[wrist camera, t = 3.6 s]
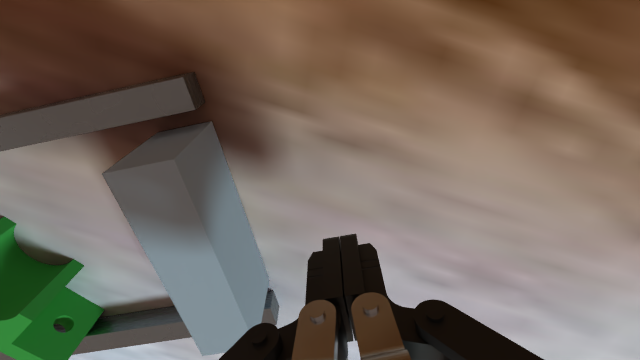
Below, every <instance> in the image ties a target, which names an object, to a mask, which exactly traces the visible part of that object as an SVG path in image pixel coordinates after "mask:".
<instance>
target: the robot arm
mask: <svg viewBox="0 0 640 360" xmlns="http://www.w3.org/2000/svg"><path fill="white" fill-rule="evenodd" d="M340 242H341V243H340ZM307 270H308V271H307V286H306V303H305V306H304V307H303V308H302V310H301V311H300V314H299V318H298V319H297V320H295V321H294V322H292V323H290V324H288V325H286V326H284V327H282V328H279V329H277V327H276V326H275V325H273V324H271V323H260V324H257V325H255V326H253V327H252V328H250V329H249V330H248V331H247V332H246V333H245V334H244V335H243V336H242V337H241V338H240V339H239V340H238V341H237V342H236V343H235V344H234V345H233V346H232V347H231V348H230V349H229V350H228V351H227V352H226V353H225V354H224V355H223V356H222V357H221V358H220V359H219V360H348V346H347V342H350V341H353V334H354V338H355V341H356V340H357V342H358V347H359V352H360V357H361V358H360V359H361V360H544V359H542V358H540V357H538V356H537V355H535V354H533V353H532V352H530V351H528V350H526V349H525V348H523V347H521V346H520V345H518V344H516V343H514V342H513V341H511V340H509V339H508V338H506V337H504V336H502V335H501V334H499V333H497V332H496V331H494V330H492V329H490V328H489V327H487V326H485V325H484V324H482V323H480V322H478V321H477V320H475V319H473V318H472V317H470V316H468V315H466V314H465V313H463V312H461V311H460V310H458V309H456V308H454V307H453V306H451V305H449V304H448V303H446V302H443V301H440V300H426V301H423V302H422V303H420V304H419V305H418V306H417V307H416V308H415V309H413V308H406V307H402V306H399V305H397V304H395V303H393V302H392V301H391V300H390V299H389V298H388V296H387V293H386V290H385V285H384V281H383V277H382V272H381V268H380V264H379V259H378V255H377V251H376V249H375V248H374V247H373V246H372V245H371V244H370V243H368V244H361V245H358V241H357V236H356V234H351V235H345V236H340V238H339V237H333V238H327V239H323V251H318V252H313V253H312V255H311V257H310V258H309V260H308V269H307ZM352 329H353V332H352Z"/></svg>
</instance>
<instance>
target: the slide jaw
mask: <svg viewBox="0 0 640 360" xmlns="http://www.w3.org/2000/svg"><path fill="white" fill-rule="evenodd" d="M102 175H103V177H104V179H105V180H106V182H107V184H108V186H109V188H110V189H111V191H112V193H113V195H114V197H115V199H116V200H117V202H118V204H119V206H120V208H121V209H122V211H123V213H124V215H125V217H126V218H127V220H128V222H129V224H130V226H131V227H132V229H133V231H134V233H135V235H136V237H137V238H138V240H139V242H140V244H141V246H142V247H143V249H144V251H145V253H146V255H147V256H148V258H149V260H150V262H151V264H152V265H153V267H154V269H155V271H156V273H157V275H158V276H159V278H160V280H161V282H162V284H163V285H164V287H165V289H166V291H167V293H168V294H169V296H170V298H171V300H172V302H173V303H174V305H175V307H176V309H177V311H178V312H179V314H180V316H181V318H182V320H183V322H184V323H185V325H186V327H187V329H188V331H189V332H190V334H191V336H192V338H193V340H194V341H195V343H196V345H197V347H198V349H199V350H200V352H201V354H202V356H204V355H212V354H219V353H226V352H227V351H228V350H229V349H230V348H231V347H232V346H233V345H234V344H235V343H236V342H237V341H238V340H239V339H240V338H241V337H242V336H243V335H244V334H245V333H246V332H247V331H248V330H249V329H250V328H252V327H253V326H255V325H257V324H260V323H261V322H262V316H263V311H264V306H265V300H266V295H267V290H268V284H269V278H268V275H267V272H266V270H265V267H264V264H263V261H262V259H261V256H260V253H259V250H258V248H257V245H256V242H255V239H254V236H253V234H252V231H251V228H250V225H249V223H248V220H247V217H246V214H245V212H244V209H243V206H242V203H241V201H240V198H239V195H238V192H237V190H236V187H235V184H234V181H233V178H232V176H231V173H230V170H229V167H228V165H227V162H226V159H225V156H224V154H223V151H222V148H221V145H220V143H219V140H218V137H217V134H216V132H215V129H214V126H213V123H212V121H211V122H206V123H201V124H196V125H192V126H187V127H182V128H177V129H172V130H168V131H163V132H158V133H156V134H155V135H154V136H152V137H151V138H149V139H148V140H147V141H145V142H144V143H143V144H141V145H140V146H139V147H137V148H136V149H135V150H133V151H132V152H130V153H129V154H128V155H126V156H125V157H124V158H122V159H121V160H120V161H118V162H117V163H116V164H114V165H113V166H111V167H110V168H109V169H107V170H106V171H105V172H103V173H102Z"/></svg>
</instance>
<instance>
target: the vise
mask: <svg viewBox="0 0 640 360" xmlns="http://www.w3.org/2000/svg"><path fill="white" fill-rule="evenodd" d="M203 103H205V100H204V97H203V95H202V92H201V89H200V86H199V83H198V81H197V78H196V75H195V72H191V73H187V74H182V75H178V76H173V77H169V78H164V79H160V80H156V81H151V82H147V83H142V84H138V85H133V86H129V87H124V88H120V89H115V90H111V91H106V92H102V93H97V94H93V95H88V96H84V97H80V98H75V99H71V100H66V101H62V102H57V103H53V104H48V105H44V106H39V107H35V108H30V109H26V110H21V111H17V112H13V113H8V114H4V115H0V151H4V150H9V149H14V148H18V147H23V146H28V145H32V144H37V143H42V142H46V141H51V140H56V139H61V138H65V137H70V136H75V135H79V134H84V133H89V132H93V131H98V130H103V129H108V128H112V127H117V126H122V125H126V124H131V123H136V122H140V121H145V120H150V119H155V118H159V117H164V116H169V115H173V114H178V113H183V112H187V111H192V110H196V109H197V108H198V107H200V106H201V105H202V104H203ZM278 311H279V305H278V302H277V299H276V296H275V294H274V291H268V292H267V295H266V300H265V306H264V311H263V316H262V322H261V323H271V324H273V325H277V318H278ZM53 326H54V329H55V330H56V331H58V332H60V333H65V332H66V331H65V328H64V327H63V326H62V325H60V324H59V325H53ZM189 337H192V336H191V334H190V332H189V331H188V329H187V327H186V325H185V323H184V322H183V320H182V318H181V316H180V314H179V312H178V311H177V309H176V307H175V306H173V307H167V308H160V309H154V310H148V311H141V312H135V313H129V314H122V315H116V316H110V317H103V318H98V319H97V321H96V322H95V323H94V325H93V326H92V328H91V329H90V330H89V332H88V333H87V334H86V336H85V337H84V339H83V340H82V341H81V343H80V344H79V345H78V347H77V348H76V350H75V351H74V352H73V354H72V355H74V354H81V353H87V352H94V351H101V350H108V349H114V348H121V347H128V346H135V345H142V344H148V343H155V342H162V341H169V340H175V339H182V338H189ZM0 360H16V359H14V358H12V357H10V356H8V355H6V354H4V353H2V352H0Z"/></svg>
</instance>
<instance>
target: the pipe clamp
mask: <svg viewBox="0 0 640 360" xmlns="http://www.w3.org/2000/svg"><path fill="white" fill-rule="evenodd" d="M15 226H16V223H14V222H12V221H11V220H9V219H8V218H6V217H3V218H1V219H0V352H2V353H4V354H6V355H8V356H10V357H12V358H14V359H16V360H68V359H69V358H70V356H71V355H72V354H73V352H74V351H75V350H76V348H77V347H78V345H79V344H80V343H81V341H82V340H83V339H84V337H85V336H86V334H87V333H88V332H89V330H90V329H91V328H92V326H93V325H94V323H95V322H96V321H97V319H98V318H99V317H100V315H101V314H102V312H103V311H104V309H103V308H101V307H99V306H97V305H96V304H94V303H92V302H91V301H89V300H87V299H85V298H84V297H82V296H80V295H78V294H77V293H75V292H73V291H72V290H70V289H68V288H66V287H65V286H66V285H67V284H68V283H69V282H70V280H71V279H72V278H73V277H74V276H75V275H76V274H77V273H78V272H79V271H80V270H81V269H82V268H83V267H84V265H82V264H81V263H79V262H78V261H76V260H74V259H73V260H72V261H71V262H69V263H67V264H64V265H48V264H44V263H41V262H39V261H36V260H34V259H33V258H31V257H29V256H28V255H27V254H25V253H24V252H23V251H22V250H21V249H20V247H19V246H18V245H17V243H16V241H15V238H14V228H15ZM53 324H60V325H62V326H63V327H64V328H65V331H66V332H65V333H60V332H58V331H56V330H55V329H54V326H53Z"/></svg>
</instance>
